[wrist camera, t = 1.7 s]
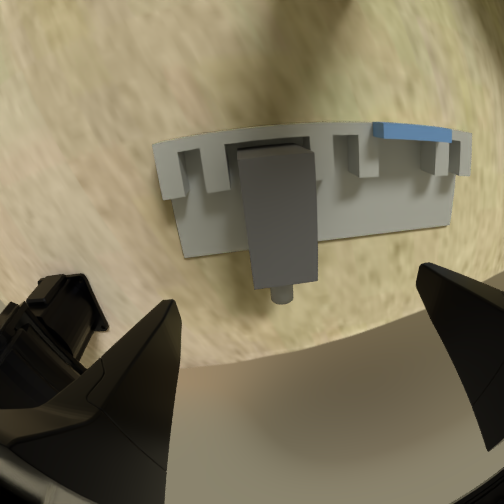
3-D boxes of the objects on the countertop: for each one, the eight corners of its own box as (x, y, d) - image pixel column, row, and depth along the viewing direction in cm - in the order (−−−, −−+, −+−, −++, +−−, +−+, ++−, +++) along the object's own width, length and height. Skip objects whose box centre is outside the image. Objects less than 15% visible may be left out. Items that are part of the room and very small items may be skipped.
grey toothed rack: (447, 223, 22) (472, 240, 18) (185, 256, 22) (176, 282, 18) (455, 128, 17) (484, 134, 14) (161, 140, 17) (144, 145, 14)
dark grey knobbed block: (300, 274, 23) (316, 317, 18) (253, 280, 23) (259, 326, 18) (292, 142, 18) (314, 152, 13) (237, 148, 18) (237, 159, 13)
